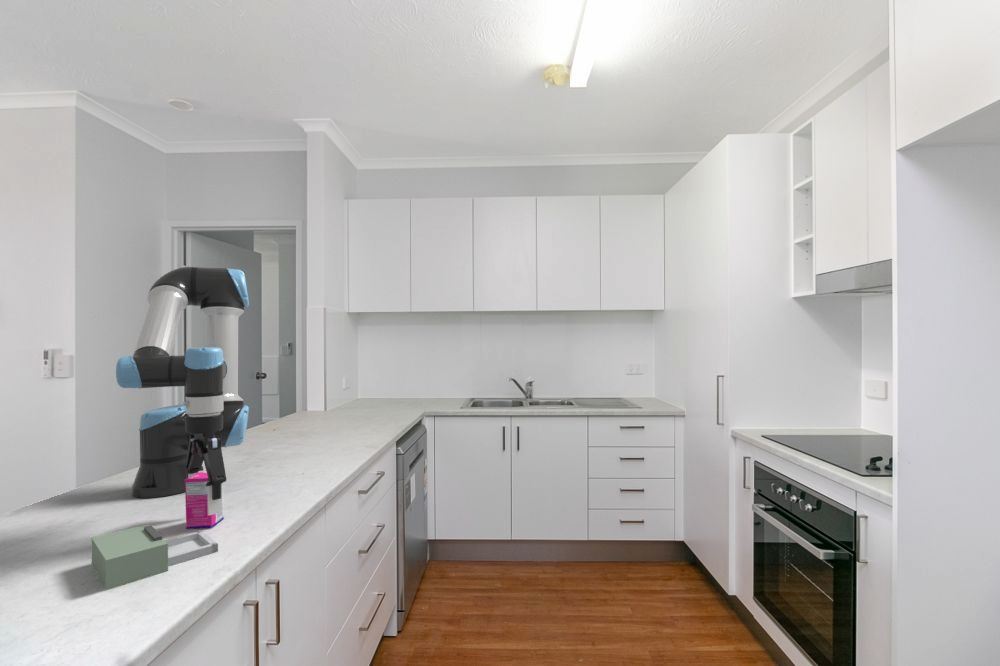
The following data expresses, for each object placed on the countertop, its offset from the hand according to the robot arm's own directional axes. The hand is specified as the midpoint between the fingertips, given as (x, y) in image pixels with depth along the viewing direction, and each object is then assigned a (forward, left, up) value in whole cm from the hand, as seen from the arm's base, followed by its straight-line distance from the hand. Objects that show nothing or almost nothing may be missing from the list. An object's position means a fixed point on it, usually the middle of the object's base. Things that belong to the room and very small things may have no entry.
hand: (204, 506), depth 112 cm
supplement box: (0, 0, -4) cm, 4 cm away
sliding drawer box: (+13, -12, -4) cm, 18 cm away
